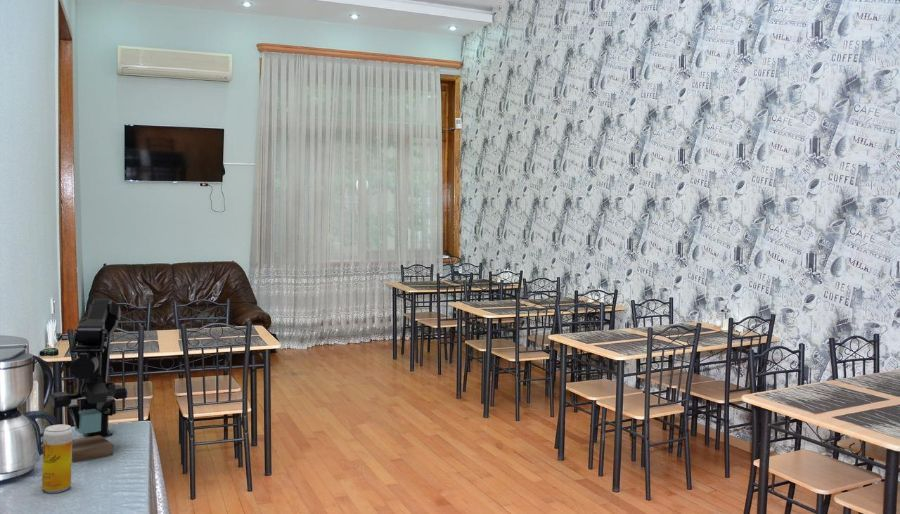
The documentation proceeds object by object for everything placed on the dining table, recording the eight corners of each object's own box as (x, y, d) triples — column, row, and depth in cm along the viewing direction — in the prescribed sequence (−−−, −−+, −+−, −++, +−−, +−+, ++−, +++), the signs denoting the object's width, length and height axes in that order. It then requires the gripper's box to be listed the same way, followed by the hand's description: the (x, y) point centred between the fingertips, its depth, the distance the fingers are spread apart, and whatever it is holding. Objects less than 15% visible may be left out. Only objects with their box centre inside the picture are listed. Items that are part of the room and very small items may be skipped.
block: (74, 429, 195) (75, 411, 195) (94, 426, 199) (94, 408, 198) (81, 434, 191) (81, 416, 191) (100, 430, 195) (101, 413, 195)
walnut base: (61, 452, 195) (61, 441, 195) (99, 445, 202) (99, 435, 202) (73, 462, 188) (74, 451, 188) (112, 455, 195) (113, 444, 195)
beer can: (38, 488, 170) (39, 426, 170) (65, 482, 175) (67, 422, 174) (47, 495, 166) (48, 433, 166) (74, 489, 171) (76, 428, 170)
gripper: (62, 380, 182) (60, 440, 183) (136, 372, 195) (134, 428, 196) (48, 372, 189) (46, 429, 190) (120, 364, 203) (118, 418, 204)
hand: (87, 426), depth 195 cm, fingers closed on block, 5 cm apart
